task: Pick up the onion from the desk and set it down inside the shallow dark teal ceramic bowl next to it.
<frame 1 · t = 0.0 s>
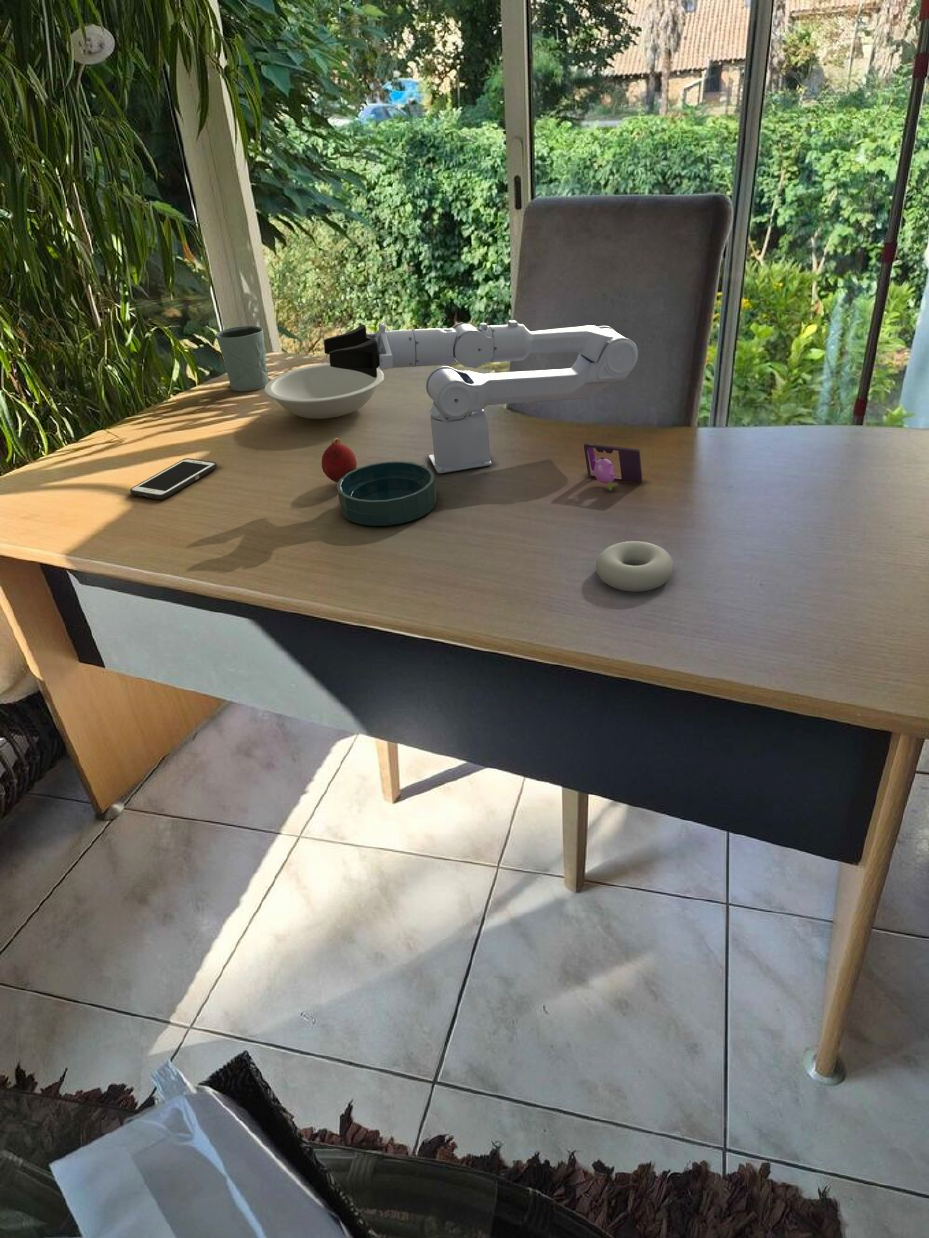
hand: (326, 352, 136), 22 cm above the table, tool horizontal, fingers open, 7 cm apart
soup bowl: (329, 413, 178), on the table
donut: (633, 578, 115), on the table
onion: (342, 484, 147), on the table
cell phone: (175, 481, 153), on the table
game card: (610, 486, 139), on the table
teal bowl: (389, 506, 138), on the table
textured green cup: (250, 385, 198), on the table
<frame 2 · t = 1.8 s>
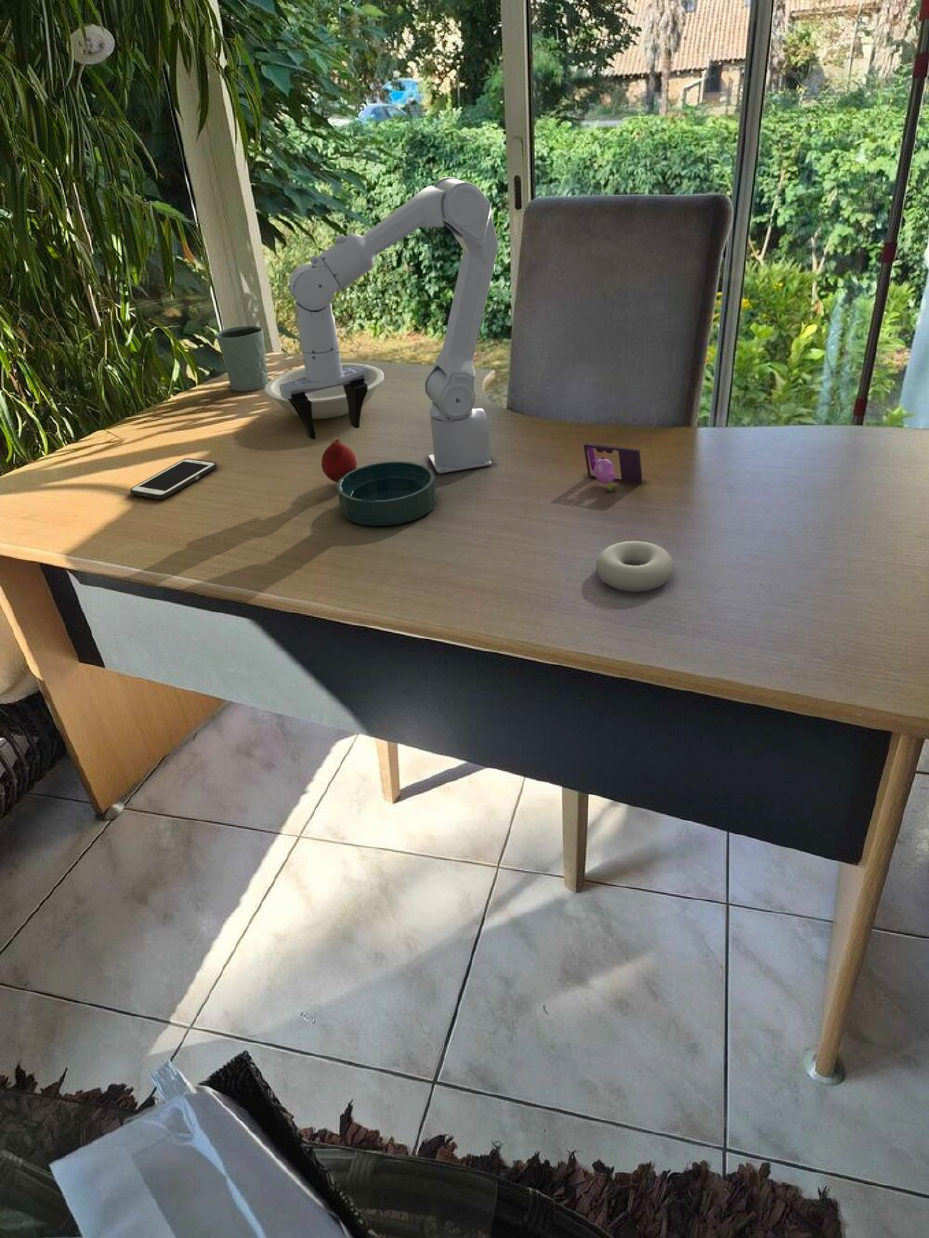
hand: (333, 432, 142), 9 cm above the table, tool pointing down, fingers open, 7 cm apart
nothing on the table moved.
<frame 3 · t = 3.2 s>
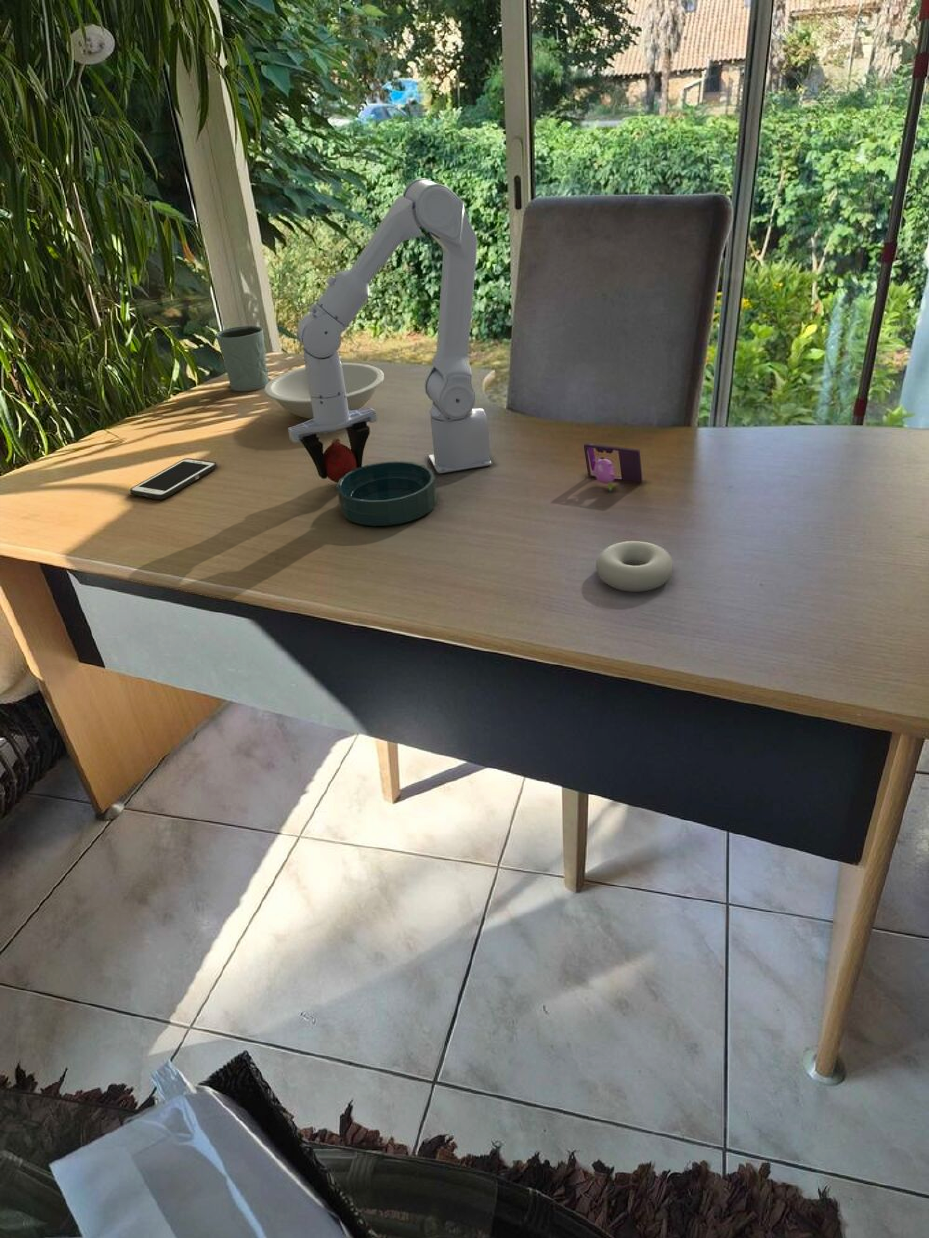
hand: (340, 471, 146), 2 cm above the table, tool pointing down, fingers closed on onion, 6 cm apart
onion: (342, 485, 147), on the table, touching gripper
everything else where it was.
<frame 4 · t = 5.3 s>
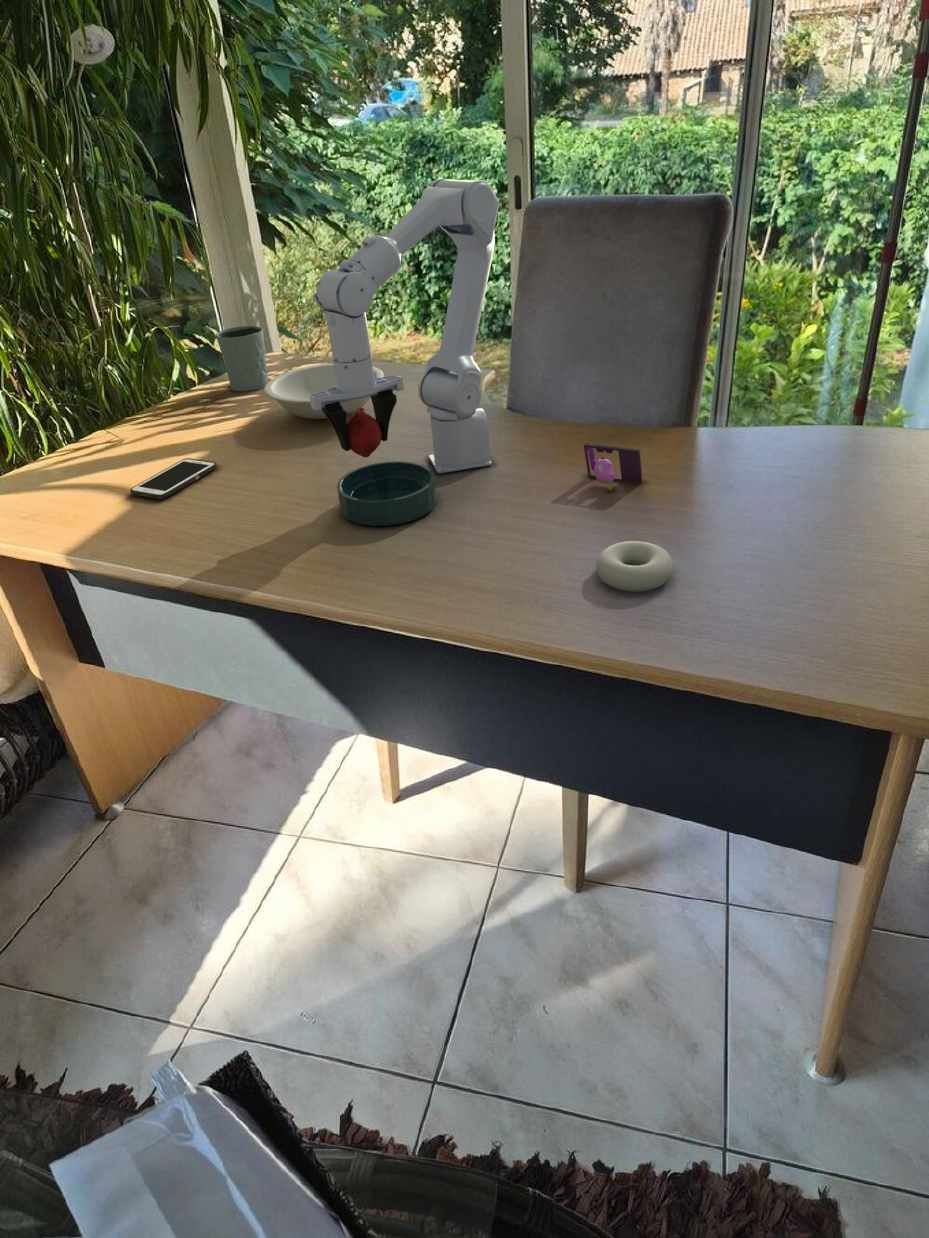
hand: (364, 443, 136), 9 cm above the table, tool pointing down, fingers closed on onion, 6 cm apart
onion: (366, 458, 137), point 7 cm above the table, touching gripper
everything else where it was.
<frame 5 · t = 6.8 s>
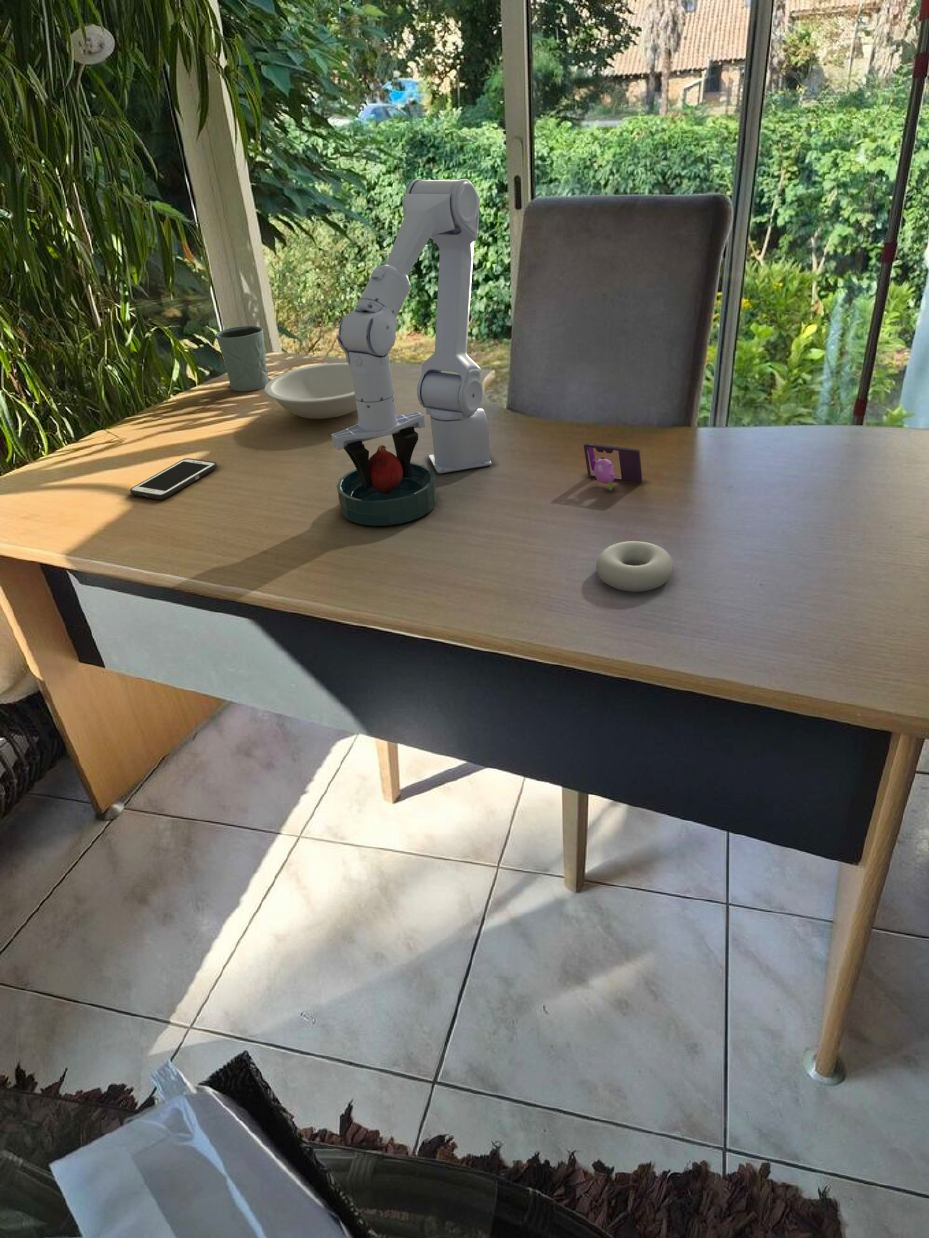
hand: (385, 480, 136), 4 cm above the table, tool pointing down, fingers closed on onion, 6 cm apart
onion: (387, 495, 137), point 2 cm above the table, touching gripper
everything else where it was.
when the fingers open (3 cm above the table, at t = 8.0 s): onion stays where it is, resting on teal bowl.
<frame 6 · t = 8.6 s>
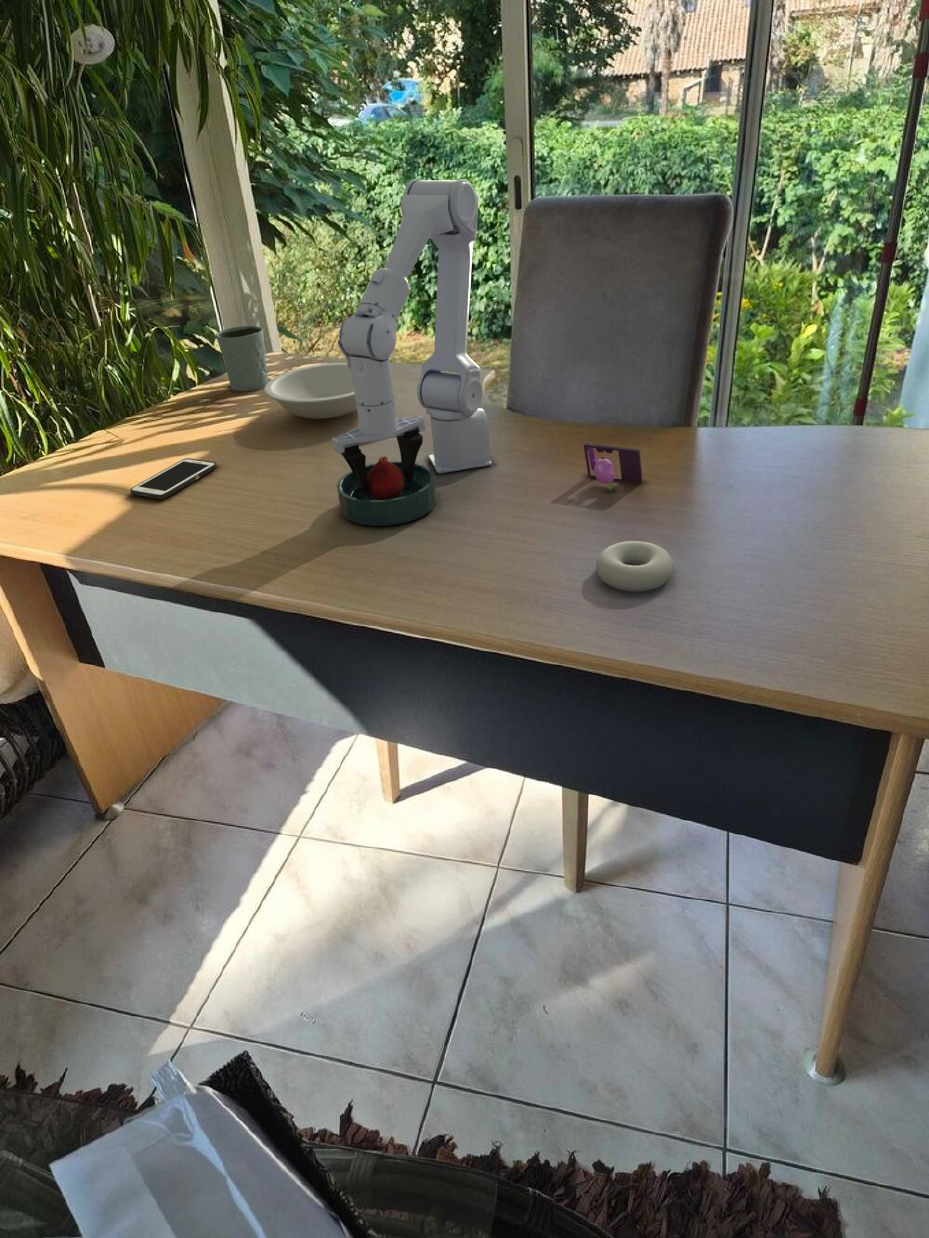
hand: (386, 484, 136), 4 cm above the table, tool pointing down, fingers open, 7 cm apart
onion: (388, 505, 138), resting on teal bowl
everything else where it was.
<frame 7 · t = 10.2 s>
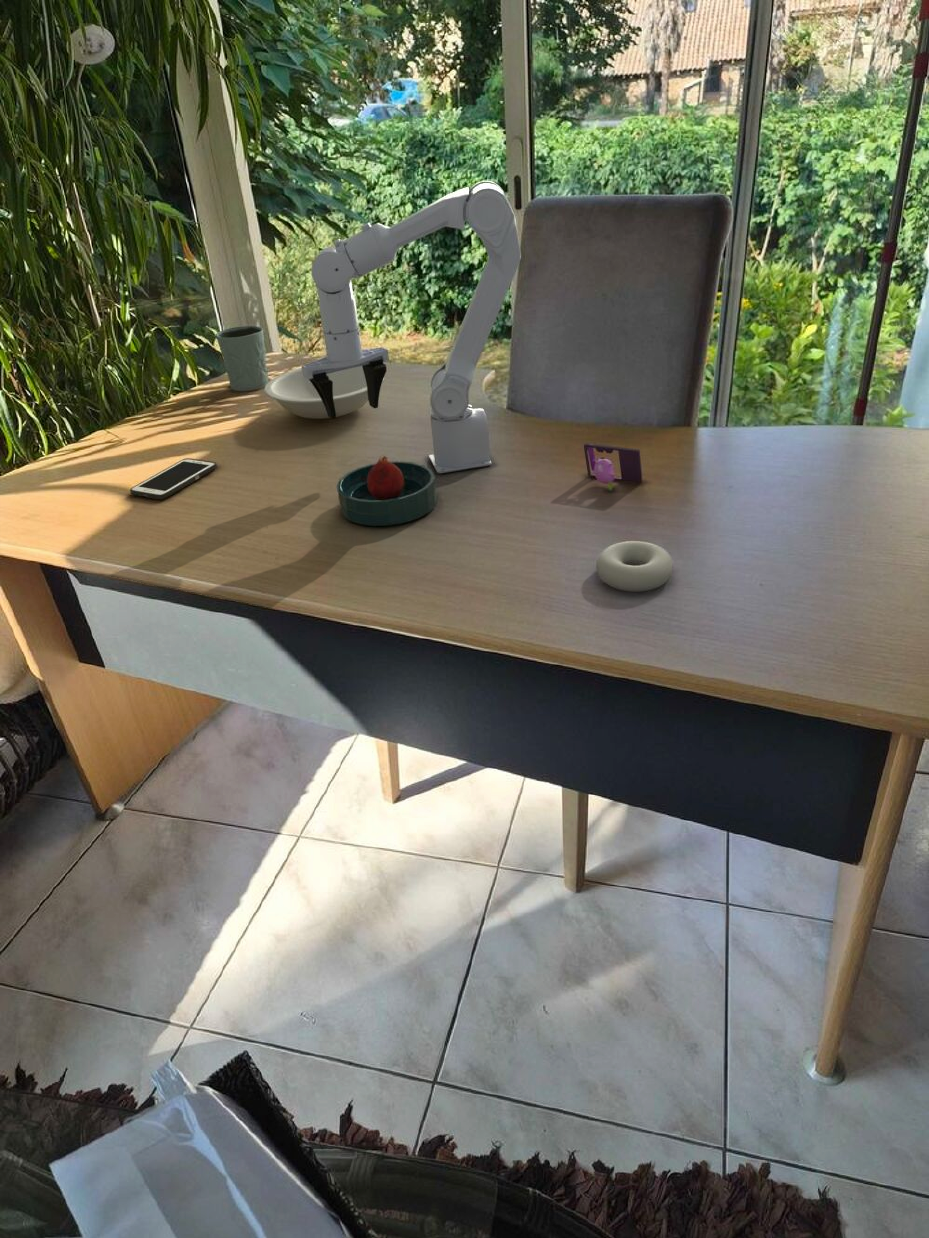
hand: (353, 411, 146), 10 cm above the table, tool pointing down, fingers open, 7 cm apart
nothing on the table moved.
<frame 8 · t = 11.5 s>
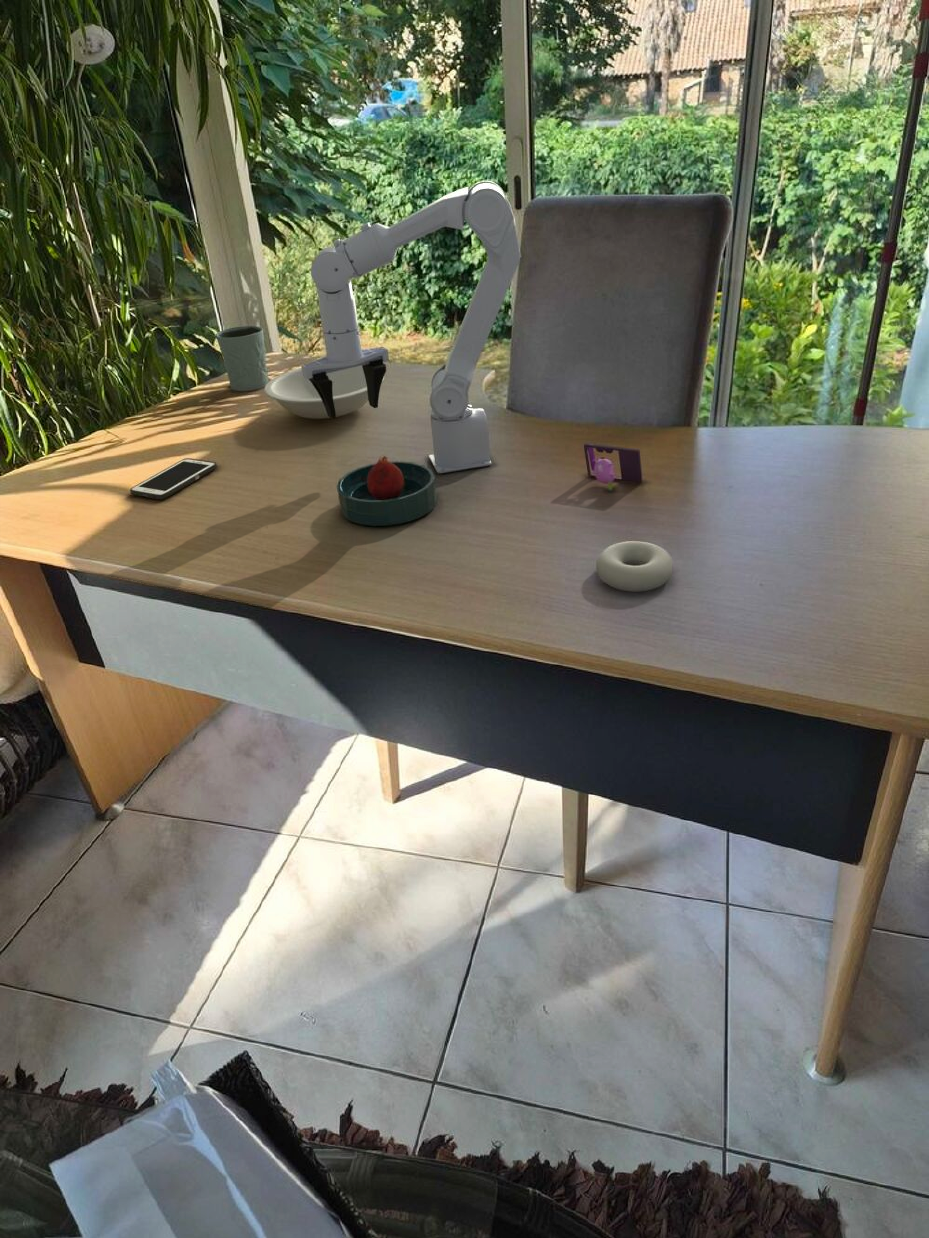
hand: (353, 411, 146), 10 cm above the table, tool pointing down, fingers open, 7 cm apart
nothing on the table moved.
at the end: onion inside the target area in the teal bowl (0.1 cm from its centre), point 0.3 cm above the teal bowl's base; the gripper is holding nothing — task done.
